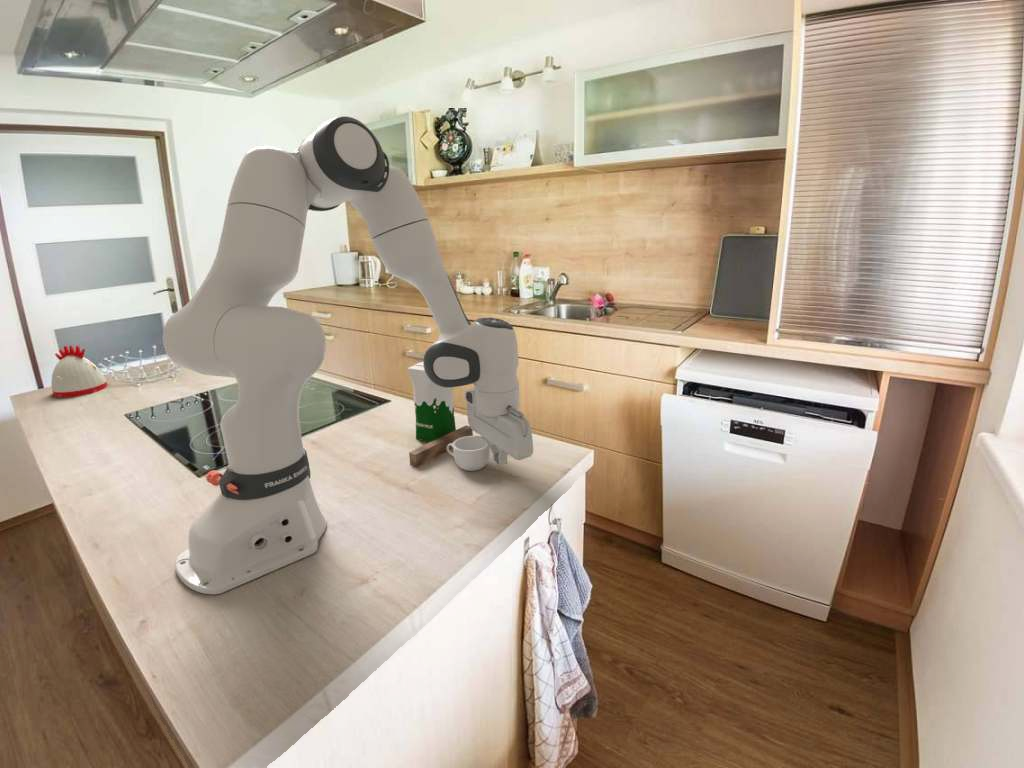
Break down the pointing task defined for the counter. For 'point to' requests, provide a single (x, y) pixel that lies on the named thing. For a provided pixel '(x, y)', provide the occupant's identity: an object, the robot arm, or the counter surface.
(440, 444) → the strip
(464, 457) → the teacup
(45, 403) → the counter surface
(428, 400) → the milk carton
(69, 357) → the crested hat
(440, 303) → the robot arm
